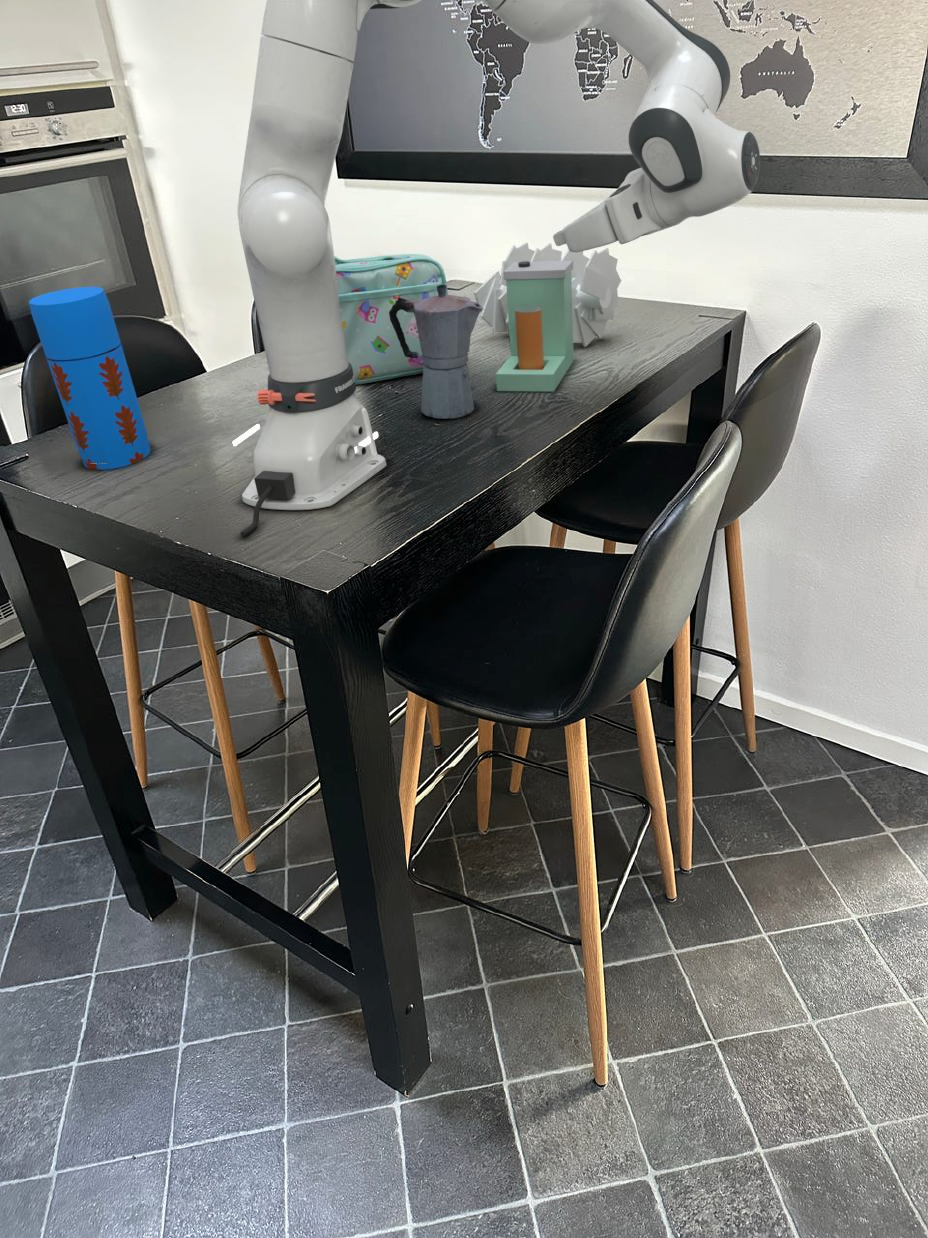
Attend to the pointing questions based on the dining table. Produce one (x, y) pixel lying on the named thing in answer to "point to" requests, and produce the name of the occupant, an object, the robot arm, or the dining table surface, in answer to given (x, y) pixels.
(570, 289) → the pet feeder tower
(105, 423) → the thermos
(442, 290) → the moka pot
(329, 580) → the dining table surface
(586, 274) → the spiral staircase
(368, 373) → the lunch box
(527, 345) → the orange silver-capped cylinder
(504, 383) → the square frame
